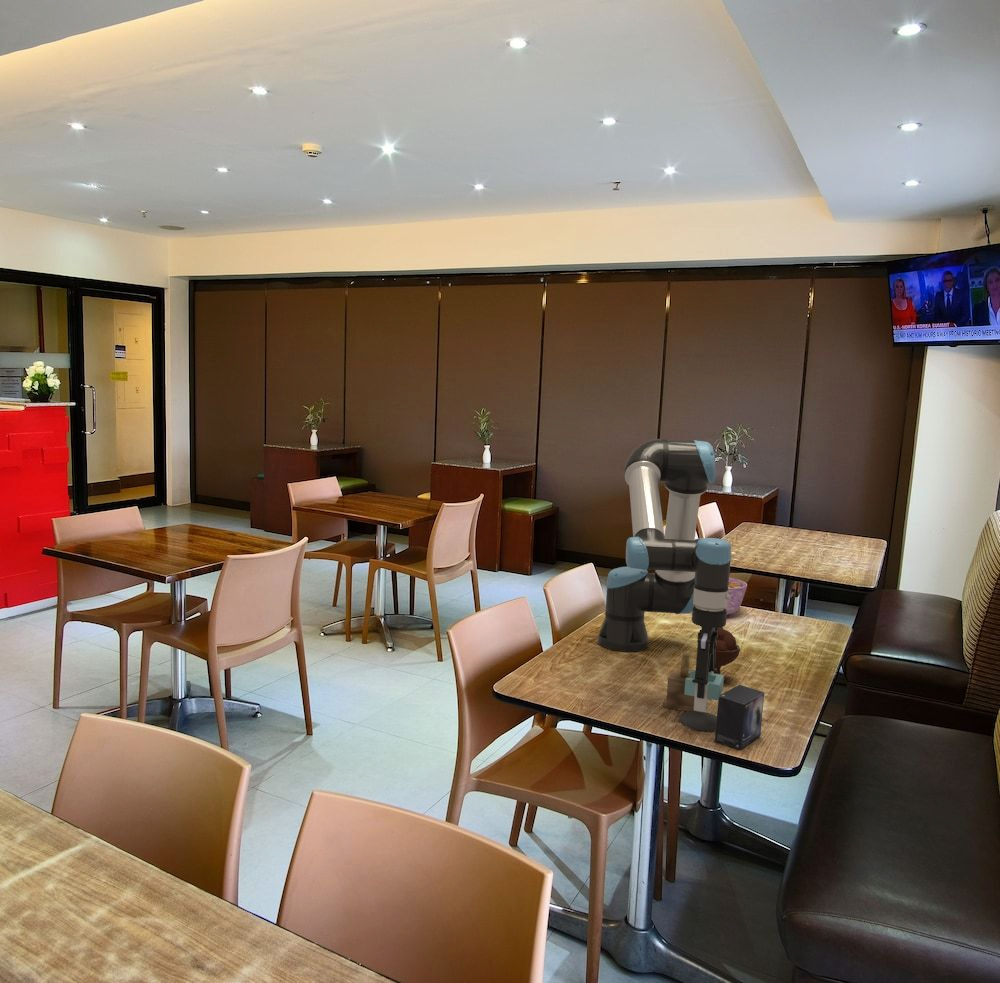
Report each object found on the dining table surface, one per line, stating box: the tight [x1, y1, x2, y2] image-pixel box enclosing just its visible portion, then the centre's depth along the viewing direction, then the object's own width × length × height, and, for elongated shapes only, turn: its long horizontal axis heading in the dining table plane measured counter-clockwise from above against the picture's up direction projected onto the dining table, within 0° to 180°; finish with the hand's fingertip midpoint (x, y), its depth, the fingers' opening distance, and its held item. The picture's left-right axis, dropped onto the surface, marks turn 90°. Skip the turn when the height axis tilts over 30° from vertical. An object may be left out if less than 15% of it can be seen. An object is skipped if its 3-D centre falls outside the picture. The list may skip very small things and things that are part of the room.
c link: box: [684, 669, 725, 701], centre depth 180 cm, size 8×8×4 cm
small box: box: [713, 684, 765, 750], centre depth 172 cm, size 11×6×10 cm, turn 138°
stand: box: [662, 652, 695, 712], centre depth 191 cm, size 8×8×12 cm
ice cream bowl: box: [712, 627, 741, 684], centre depth 209 cm, size 11×11×15 cm
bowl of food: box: [725, 576, 748, 615], centre depth 277 cm, size 20×20×12 cm
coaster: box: [678, 711, 717, 732], centre depth 181 cm, size 10×10×1 cm
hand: (702, 704), depth 180 cm, fingers closed on c link, 7 cm apart
